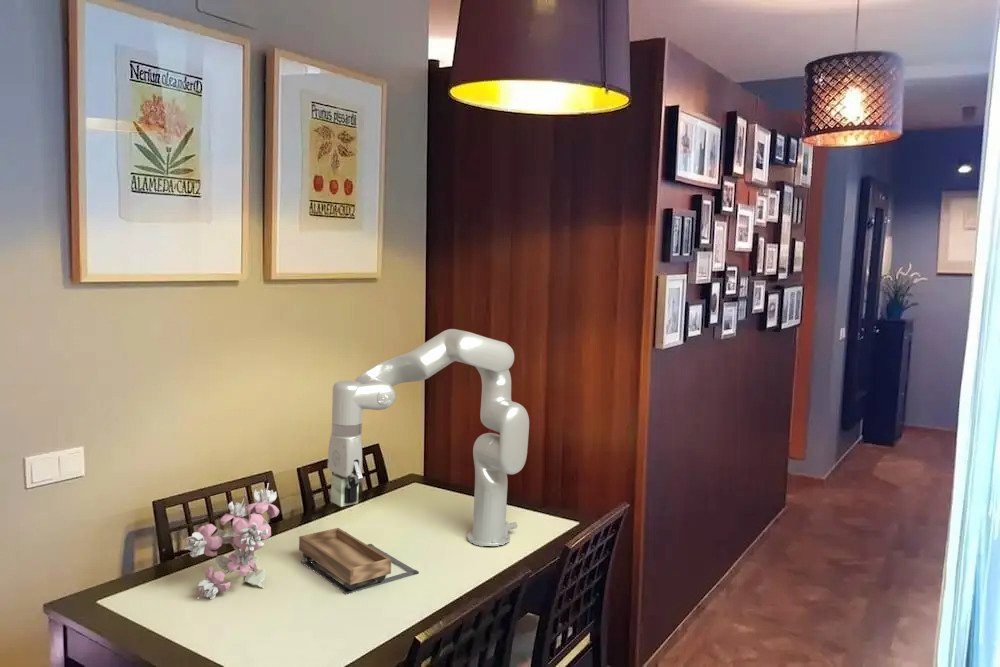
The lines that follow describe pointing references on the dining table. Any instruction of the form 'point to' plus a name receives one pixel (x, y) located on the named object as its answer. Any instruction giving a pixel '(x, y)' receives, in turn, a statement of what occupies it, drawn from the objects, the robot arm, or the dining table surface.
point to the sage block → (340, 490)
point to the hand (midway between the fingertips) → (344, 498)
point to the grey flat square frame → (368, 585)
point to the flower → (235, 542)
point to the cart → (345, 556)
